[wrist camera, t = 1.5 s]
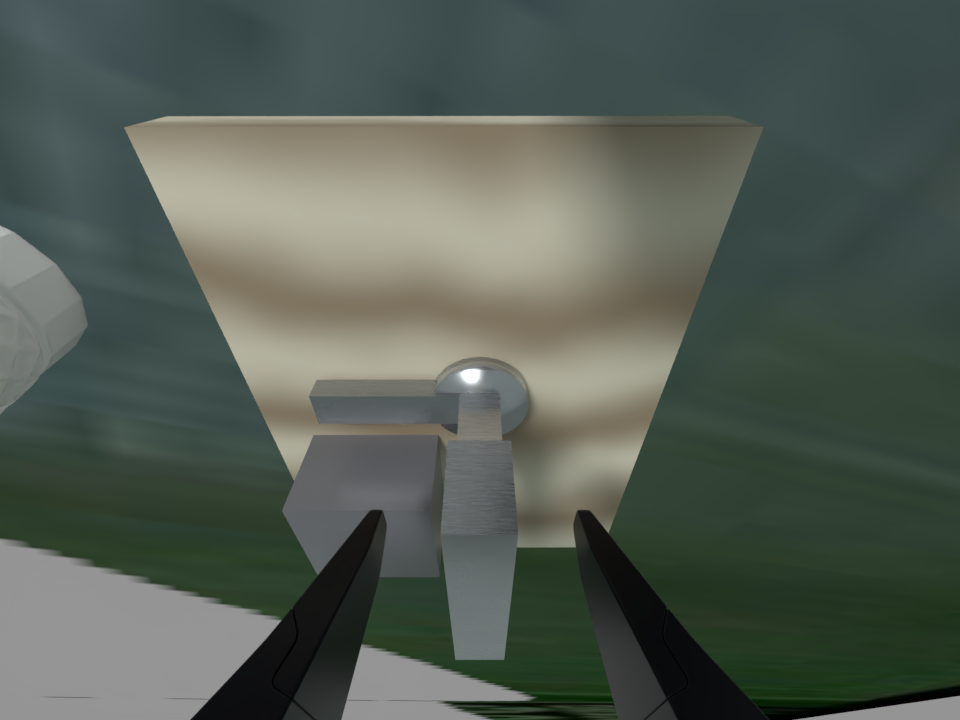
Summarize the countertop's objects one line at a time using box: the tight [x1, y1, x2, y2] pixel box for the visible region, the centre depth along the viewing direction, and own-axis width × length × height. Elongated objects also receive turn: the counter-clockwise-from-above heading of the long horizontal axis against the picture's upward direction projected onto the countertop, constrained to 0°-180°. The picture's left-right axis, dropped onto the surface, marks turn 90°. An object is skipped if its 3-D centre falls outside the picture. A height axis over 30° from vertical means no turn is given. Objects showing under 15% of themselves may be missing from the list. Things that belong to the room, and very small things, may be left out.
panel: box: [124, 116, 763, 547], centre depth 20 cm, size 24×18×2 cm
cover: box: [282, 435, 444, 577], centre depth 20 cm, size 6×6×4 cm
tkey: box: [309, 357, 528, 660], centre depth 14 cm, size 8×9×8 cm
